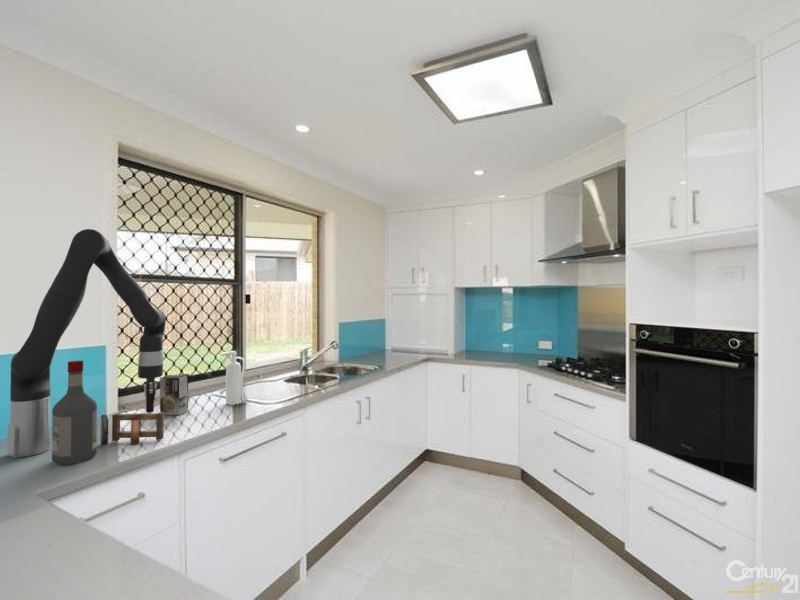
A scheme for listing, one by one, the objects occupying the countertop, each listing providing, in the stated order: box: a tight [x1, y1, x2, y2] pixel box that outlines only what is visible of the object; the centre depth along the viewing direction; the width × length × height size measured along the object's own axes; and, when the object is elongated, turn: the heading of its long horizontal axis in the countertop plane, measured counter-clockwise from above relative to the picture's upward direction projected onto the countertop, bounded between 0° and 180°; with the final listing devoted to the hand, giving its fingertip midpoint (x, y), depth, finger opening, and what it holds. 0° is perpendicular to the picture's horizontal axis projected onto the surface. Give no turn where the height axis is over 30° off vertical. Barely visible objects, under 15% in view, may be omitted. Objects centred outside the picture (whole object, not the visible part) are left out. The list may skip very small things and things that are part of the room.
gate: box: [111, 411, 165, 442], centre depth 133 cm, size 16×2×9 cm, turn 96°
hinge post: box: [100, 413, 109, 446], centre depth 130 cm, size 2×2×10 cm
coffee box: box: [159, 374, 189, 416], centre depth 167 cm, size 9×6×16 cm
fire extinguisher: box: [219, 350, 250, 406], centre depth 183 cm, size 7×12×25 cm, turn 108°
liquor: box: [51, 360, 98, 467], centre depth 117 cm, size 9×9×30 cm
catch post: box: [130, 419, 140, 446], centre depth 130 cm, size 2×2×8 cm
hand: (149, 411), depth 138 cm, fingers closed
